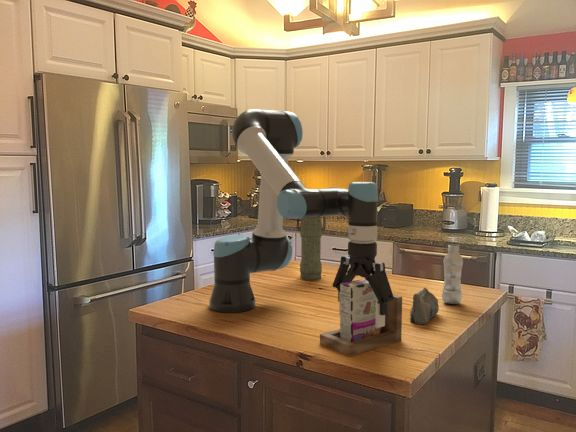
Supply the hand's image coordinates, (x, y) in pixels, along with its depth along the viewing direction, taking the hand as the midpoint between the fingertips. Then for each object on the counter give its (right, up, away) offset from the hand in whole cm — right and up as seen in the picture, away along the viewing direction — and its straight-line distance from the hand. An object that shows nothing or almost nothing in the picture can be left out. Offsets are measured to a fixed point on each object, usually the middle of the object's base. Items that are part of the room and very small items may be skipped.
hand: (361, 320), depth 138 cm
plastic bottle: (+36, -2, +38) cm, 52 cm away
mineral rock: (+23, -4, +21) cm, 31 cm away
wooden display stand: (0, -6, +1) cm, 6 cm away
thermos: (-10, +2, +77) cm, 78 cm away
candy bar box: (0, -6, +1) cm, 6 cm away
